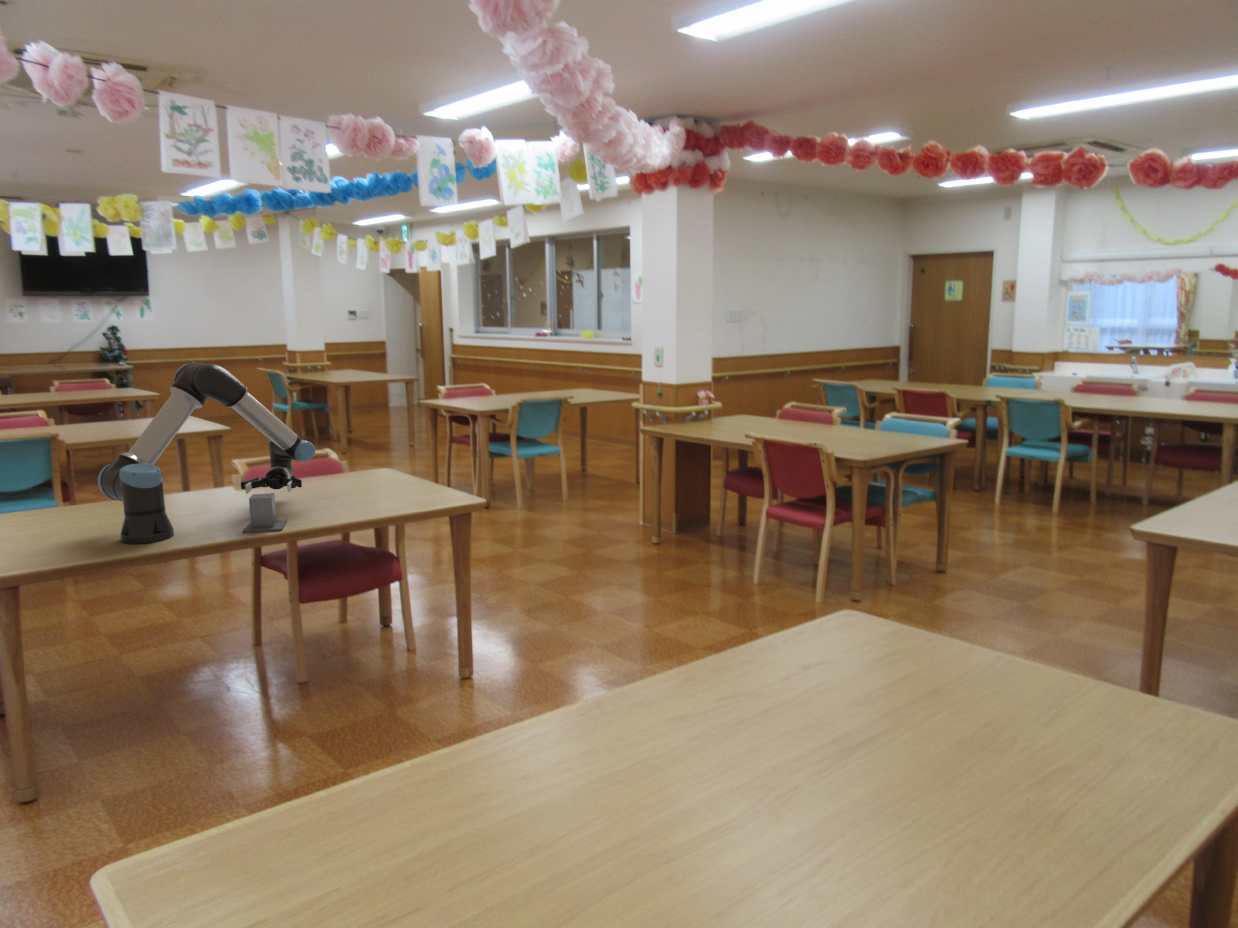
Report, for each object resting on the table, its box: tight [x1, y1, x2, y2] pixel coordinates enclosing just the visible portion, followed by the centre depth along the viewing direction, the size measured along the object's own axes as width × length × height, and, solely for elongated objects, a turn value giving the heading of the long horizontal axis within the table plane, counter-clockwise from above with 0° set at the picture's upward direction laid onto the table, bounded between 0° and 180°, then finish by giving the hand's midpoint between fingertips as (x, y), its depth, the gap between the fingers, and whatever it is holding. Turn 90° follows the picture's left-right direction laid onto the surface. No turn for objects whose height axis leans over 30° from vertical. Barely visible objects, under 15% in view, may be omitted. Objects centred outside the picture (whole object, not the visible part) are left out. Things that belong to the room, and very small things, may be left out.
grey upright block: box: [248, 492, 278, 528], centre depth 293 cm, size 7×7×10 cm
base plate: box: [242, 519, 288, 534], centre depth 294 cm, size 12×12×1 cm
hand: (267, 488), depth 303 cm, fingers open, 13 cm apart
